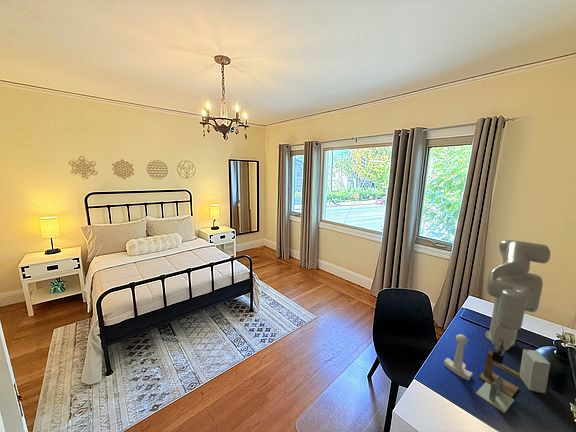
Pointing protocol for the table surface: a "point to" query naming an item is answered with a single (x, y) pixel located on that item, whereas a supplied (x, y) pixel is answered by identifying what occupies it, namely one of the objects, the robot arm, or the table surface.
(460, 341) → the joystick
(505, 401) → the mat
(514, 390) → the stand
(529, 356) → the skincare box
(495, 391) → the grey u-shaped block
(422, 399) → the table surface
